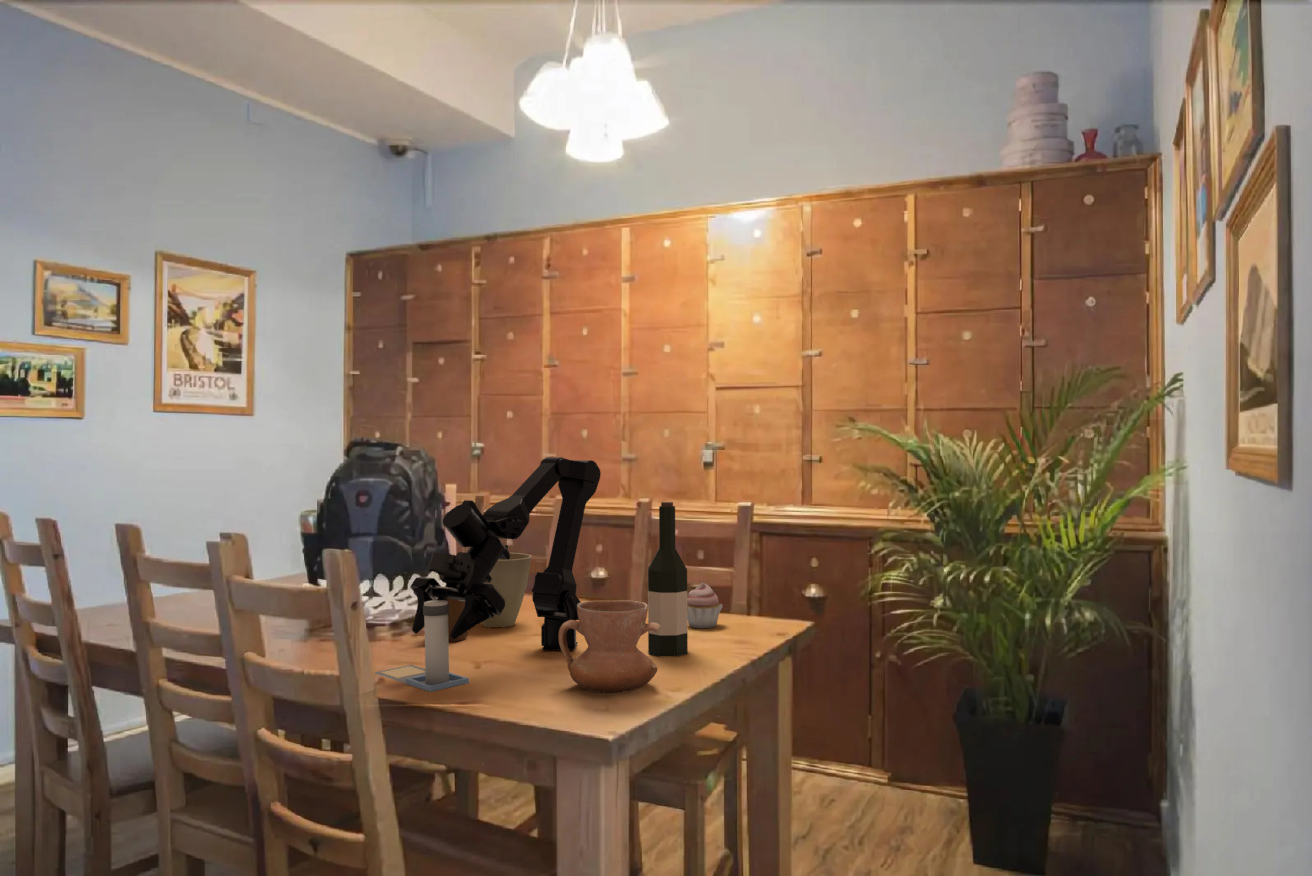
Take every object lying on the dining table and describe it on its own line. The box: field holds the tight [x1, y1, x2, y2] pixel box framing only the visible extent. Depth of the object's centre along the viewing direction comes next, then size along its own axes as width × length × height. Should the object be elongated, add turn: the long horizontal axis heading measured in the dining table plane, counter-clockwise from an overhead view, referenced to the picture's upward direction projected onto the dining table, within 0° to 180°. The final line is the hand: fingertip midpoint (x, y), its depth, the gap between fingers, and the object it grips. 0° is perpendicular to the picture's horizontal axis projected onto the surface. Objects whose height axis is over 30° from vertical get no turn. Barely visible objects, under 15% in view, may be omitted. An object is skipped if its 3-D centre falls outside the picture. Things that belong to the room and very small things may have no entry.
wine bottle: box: [647, 501, 689, 657], centre depth 181 cm, size 8×8×30 cm
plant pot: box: [480, 552, 532, 628], centre depth 209 cm, size 15×15×16 cm
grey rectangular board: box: [374, 664, 470, 693], centre depth 160 cm, size 19×8×1 cm, turn 46°
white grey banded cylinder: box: [423, 600, 450, 686], centre depth 157 cm, size 4×4×14 cm
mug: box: [446, 599, 468, 643], centre depth 192 cm, size 12×8×9 cm, turn 151°
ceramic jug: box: [559, 599, 661, 694], centre depth 155 cm, size 18×14×14 cm
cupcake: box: [687, 582, 723, 629], centre depth 206 cm, size 9×9×10 cm
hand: (432, 635), depth 156 cm, fingers open, 9 cm apart
